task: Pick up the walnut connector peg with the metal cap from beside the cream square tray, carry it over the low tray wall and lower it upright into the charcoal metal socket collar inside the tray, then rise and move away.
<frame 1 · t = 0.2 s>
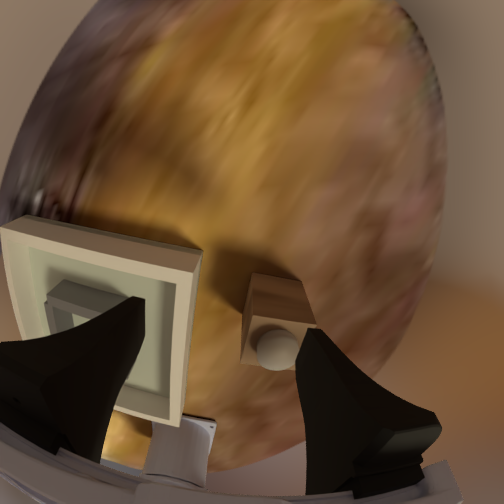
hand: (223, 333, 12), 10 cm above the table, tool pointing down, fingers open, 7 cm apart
cream square tray: (102, 318, 24), on the table
connector peg: (271, 298, 23), on the table
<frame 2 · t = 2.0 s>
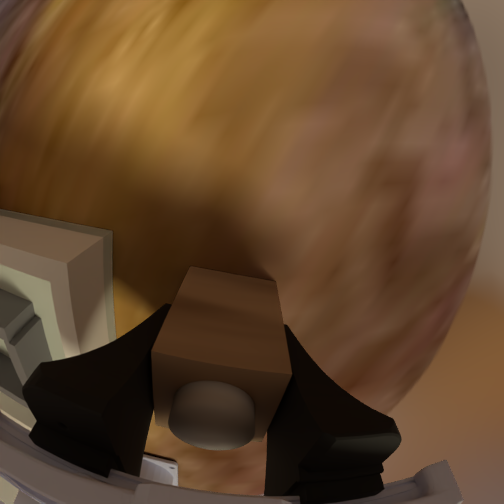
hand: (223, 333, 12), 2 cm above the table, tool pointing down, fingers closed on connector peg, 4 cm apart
cream square tray: (19, 328, 14), on the table
connector peg: (226, 310, 14), on the table, touching gripper
small box: (13, 426, 22), on the table
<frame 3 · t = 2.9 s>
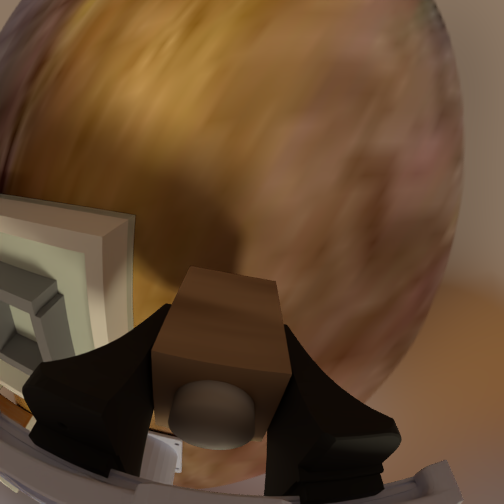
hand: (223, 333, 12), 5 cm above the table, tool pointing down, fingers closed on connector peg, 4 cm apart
cream square tray: (38, 308, 17), on the table
connector peg: (226, 310, 14), point 3 cm above the table, touching gripper
small box: (21, 413, 25), on the table
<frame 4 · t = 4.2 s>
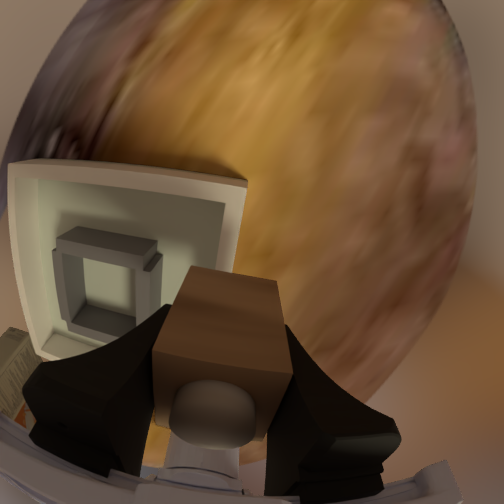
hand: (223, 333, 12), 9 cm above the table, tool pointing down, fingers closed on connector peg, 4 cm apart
skincare box: (29, 348, 25), on the table
cream square tray: (119, 275, 21), on the table
connector peg: (226, 309, 14), point 7 cm above the table, touching gripper
small box: (59, 401, 29), on the table
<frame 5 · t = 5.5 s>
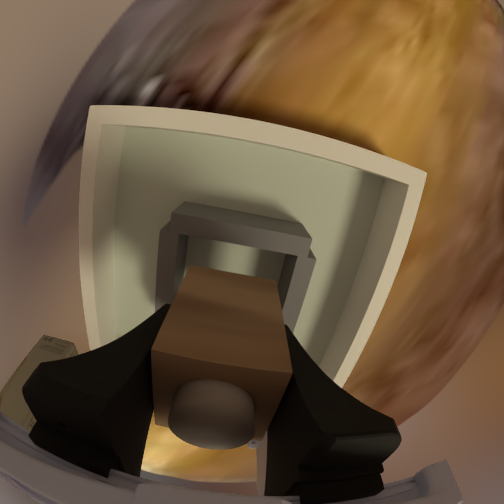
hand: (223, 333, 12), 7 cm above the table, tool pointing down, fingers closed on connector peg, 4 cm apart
skincare box: (68, 360, 22), on the table
cream square tray: (232, 267, 19), on the table
connector peg: (226, 309, 13), point 5 cm above the table, touching gripper
when the fingers open (5 cm above the table, at t = 6.4 s): connector peg drops 2 cm, resting on cream square tray.
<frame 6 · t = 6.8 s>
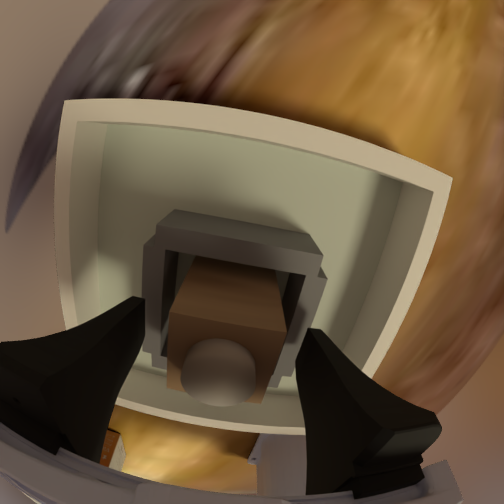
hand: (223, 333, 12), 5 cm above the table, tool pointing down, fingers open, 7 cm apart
cream square tray: (230, 282, 16), on the table
connector peg: (229, 289, 15), point 1 cm above the table, touching cream square tray
small box: (94, 432, 24), on the table
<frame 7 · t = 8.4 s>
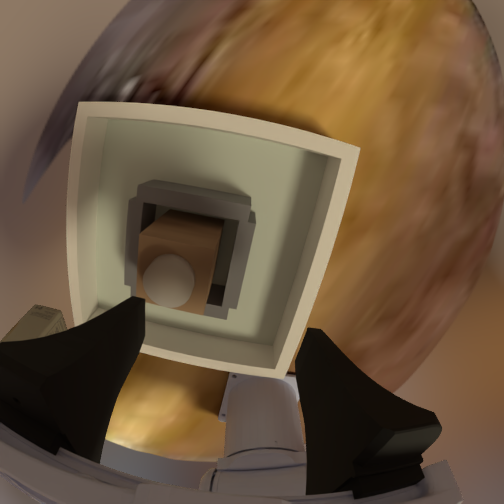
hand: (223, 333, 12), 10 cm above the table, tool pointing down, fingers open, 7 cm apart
skincare box: (56, 329, 25), on the table
cream square tray: (194, 237, 21), on the table
connector peg: (192, 240, 20), point 1 cm above the table, touching cream square tray
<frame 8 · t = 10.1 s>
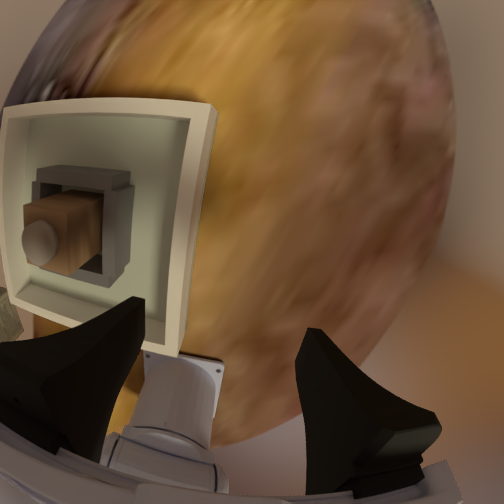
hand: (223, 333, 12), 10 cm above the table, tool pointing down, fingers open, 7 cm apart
skincare box: (9, 308, 24), on the table
cream square tray: (94, 214, 20), on the table
connector peg: (89, 216, 19), point 1 cm above the table, touching cream square tray
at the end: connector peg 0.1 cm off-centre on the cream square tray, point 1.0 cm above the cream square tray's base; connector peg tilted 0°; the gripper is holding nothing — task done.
